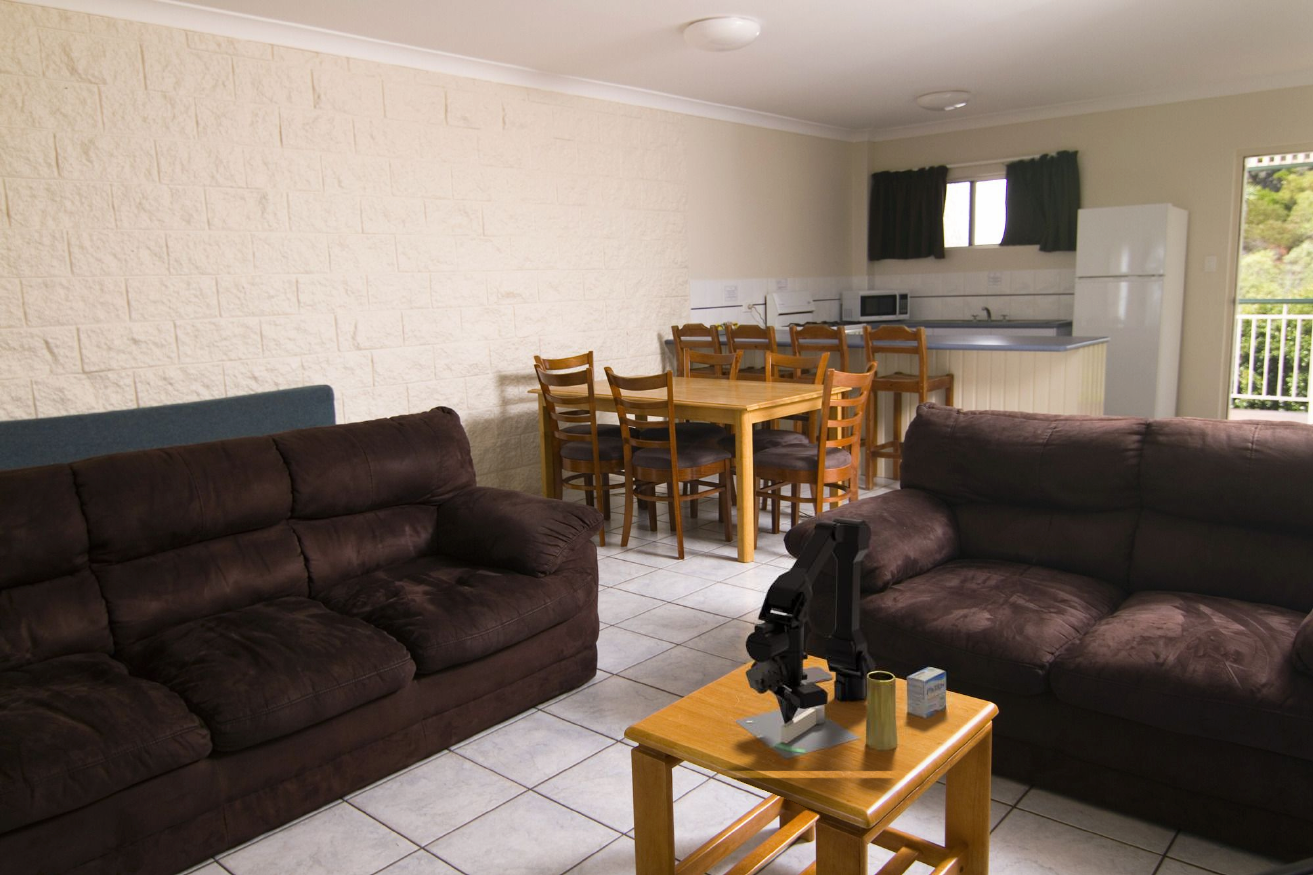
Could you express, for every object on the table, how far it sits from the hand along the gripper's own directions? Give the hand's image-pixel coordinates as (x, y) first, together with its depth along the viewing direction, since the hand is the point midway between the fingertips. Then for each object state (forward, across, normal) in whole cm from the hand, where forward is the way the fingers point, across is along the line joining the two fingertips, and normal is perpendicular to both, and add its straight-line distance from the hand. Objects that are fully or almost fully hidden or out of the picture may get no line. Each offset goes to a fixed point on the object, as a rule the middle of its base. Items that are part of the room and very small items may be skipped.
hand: (787, 724), depth 178 cm
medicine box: (+3, +4, +32) cm, 32 cm away
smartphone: (+4, -25, +19) cm, 32 cm away
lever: (+2, 0, +4) cm, 4 cm away
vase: (+3, +12, +14) cm, 18 cm away
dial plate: (+3, -2, +3) cm, 5 cm away
